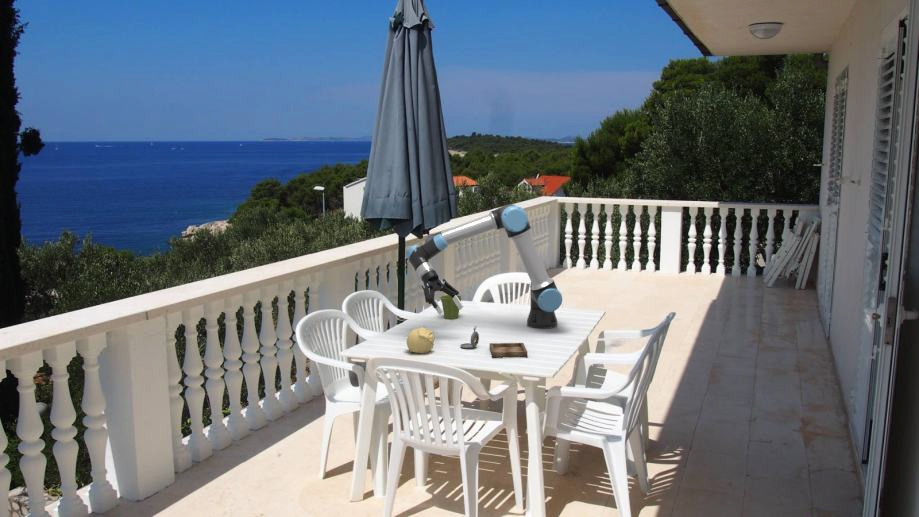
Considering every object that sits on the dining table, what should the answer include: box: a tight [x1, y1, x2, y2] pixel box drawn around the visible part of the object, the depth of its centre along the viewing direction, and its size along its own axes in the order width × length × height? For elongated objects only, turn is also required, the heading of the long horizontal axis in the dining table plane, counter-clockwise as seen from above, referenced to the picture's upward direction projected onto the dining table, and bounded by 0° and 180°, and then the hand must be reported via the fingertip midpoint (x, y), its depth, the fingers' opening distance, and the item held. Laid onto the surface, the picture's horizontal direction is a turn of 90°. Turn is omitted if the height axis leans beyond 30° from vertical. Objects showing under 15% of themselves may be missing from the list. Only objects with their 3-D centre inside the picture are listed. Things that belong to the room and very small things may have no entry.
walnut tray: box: [489, 342, 528, 359], centre depth 327 cm, size 15×15×2 cm
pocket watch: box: [459, 326, 480, 350], centre depth 336 cm, size 8×8×10 cm
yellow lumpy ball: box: [406, 326, 435, 354], centre depth 331 cm, size 12×12×11 cm
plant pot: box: [439, 294, 463, 320], centre depth 395 cm, size 12×12×11 cm
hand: (451, 310), depth 342 cm, fingers open, 13 cm apart
